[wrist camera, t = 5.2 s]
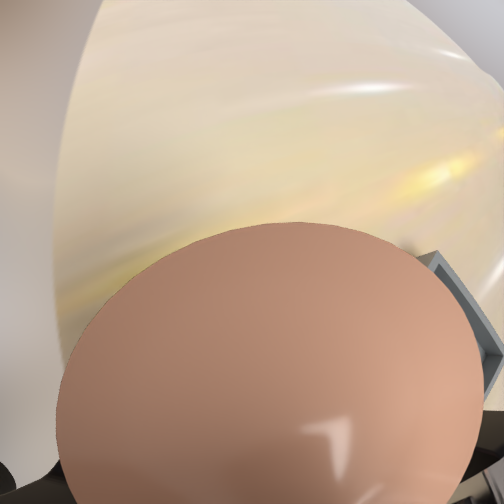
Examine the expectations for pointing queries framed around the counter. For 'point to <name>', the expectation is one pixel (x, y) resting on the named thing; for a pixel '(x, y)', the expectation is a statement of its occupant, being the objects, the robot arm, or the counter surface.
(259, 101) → the counter surface
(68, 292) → the counter surface
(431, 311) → the canister
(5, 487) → the drinking cup
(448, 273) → the tray
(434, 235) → the counter surface
